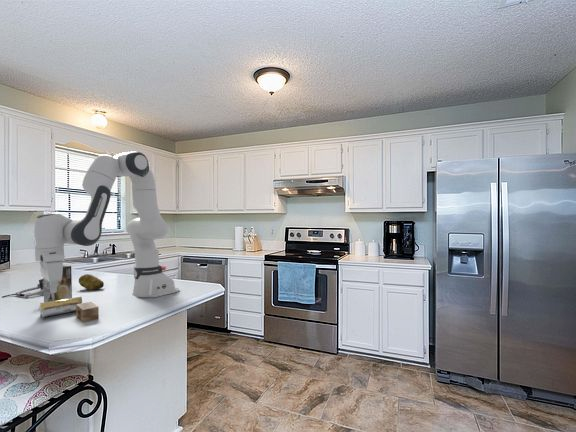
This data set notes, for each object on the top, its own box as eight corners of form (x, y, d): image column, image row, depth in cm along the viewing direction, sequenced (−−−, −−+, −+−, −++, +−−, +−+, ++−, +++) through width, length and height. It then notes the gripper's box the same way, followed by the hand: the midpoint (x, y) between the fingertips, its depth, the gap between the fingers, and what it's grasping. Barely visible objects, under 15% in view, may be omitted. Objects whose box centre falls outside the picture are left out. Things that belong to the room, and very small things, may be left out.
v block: (76, 312, 128) (76, 300, 128) (81, 316, 123) (81, 303, 123) (40, 319, 120) (40, 306, 120) (43, 324, 115) (43, 310, 115)
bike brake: (49, 287, 170) (2, 301, 153) (47, 275, 169) (0, 288, 152) (61, 290, 163) (13, 306, 146) (59, 278, 162) (11, 292, 145)
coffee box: (61, 298, 150) (61, 265, 150) (72, 299, 149) (72, 265, 149) (43, 303, 141) (42, 268, 141) (54, 304, 140) (54, 269, 140)
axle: (80, 303, 127) (80, 296, 127) (82, 304, 125) (82, 297, 125) (40, 310, 118) (40, 302, 118) (41, 311, 116) (41, 303, 116)
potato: (90, 292, 162) (90, 277, 162) (76, 289, 168) (75, 275, 168) (105, 288, 169) (105, 274, 169) (91, 286, 175) (91, 272, 175)
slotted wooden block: (91, 316, 122) (91, 301, 122) (98, 322, 115) (98, 306, 115) (76, 320, 119) (76, 304, 119) (83, 326, 112) (82, 309, 112)
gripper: (35, 253, 124) (36, 287, 124) (44, 258, 110) (45, 297, 110) (54, 251, 128) (56, 284, 129) (65, 256, 114) (67, 293, 115)
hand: (51, 290), depth 119 cm, fingers open, 8 cm apart
